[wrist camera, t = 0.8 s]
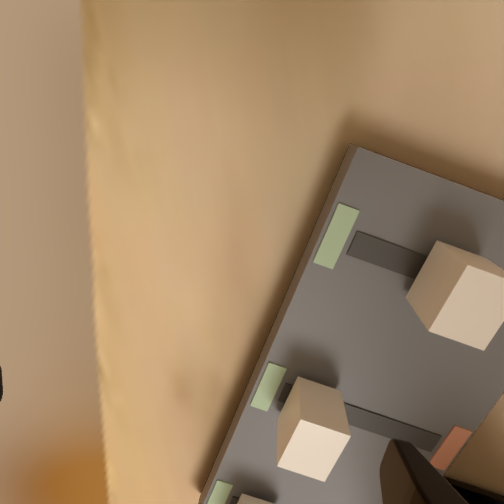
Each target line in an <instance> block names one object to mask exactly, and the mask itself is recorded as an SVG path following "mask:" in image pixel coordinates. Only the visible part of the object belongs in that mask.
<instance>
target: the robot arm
mask: <svg viewBox="0 0 504 504" xmlns="http://www.w3.org/2000/svg"><path fill="white" fill-rule="evenodd" d="M2 395H3V385H2V370H1V367H0V401H1V399H2ZM379 476H380V485H381V493H382V501H383V504H504V497H503V496H500V495H497V494H494V493H491V492H488V491H485V490H482V489H479V488H476V487H473V486H470V485H467V484H464V483H461V482H458V481H455V480H452V479H449V478H444V477H443V476H442V475H441V474H440V473H439V472H438V471H437V470H436V468H435V467H434V466H433V465H432V464H431V463H430V462H429V461H428V460H427V459H426V458H425V457H424V456H423V455H422V453H421V452H420V451H419V450H418V449H417V448H416V447H415V446H414V445H413V444H412V443H411V442H409V441H406V440H401V439H396V438H393V439H391V440H390V441H389V443H388V445H387V448H386V451H385V453H384V456H383V459H382V461H381V464H380V470H379Z"/></svg>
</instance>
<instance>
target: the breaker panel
mask: <svg viewBox="0 0 504 504" xmlns="http://www.w3.org/2000/svg"><path fill="white" fill-rule="evenodd" d="M437 240H438V241H441V242H443V243H446V244H449V245H452V246H454V247H457V248H460V249H463V250H465V251H468V252H471V253H474V254H476V255H479V256H482V257H485V258H487V259H488V260H490V261H491V262H493V263H494V264H496V265H497V266H498V267H500V268H501V269H503V270H504V200H501V199H498V198H496V197H493V196H490V195H488V194H485V193H482V192H479V191H477V190H474V189H471V188H469V187H466V186H463V185H461V184H458V183H455V182H453V181H450V180H447V179H445V178H442V177H439V176H437V175H434V174H431V173H429V172H426V171H423V170H421V169H418V168H415V167H412V166H410V165H407V164H404V163H402V162H399V161H396V160H394V159H391V158H388V157H386V156H383V155H380V154H378V153H375V152H372V151H370V150H367V149H364V148H362V147H359V146H356V145H354V144H351V143H350V145H349V147H348V150H347V152H346V154H345V157H344V159H343V161H342V164H341V166H340V168H339V171H338V173H337V175H336V178H335V180H334V182H333V185H332V187H331V190H330V192H329V194H328V197H327V199H326V201H325V204H324V206H323V208H322V211H321V213H320V215H319V218H318V220H317V222H316V225H315V227H314V230H313V232H312V234H311V237H310V239H309V241H308V244H307V246H306V248H305V251H304V253H303V255H302V258H301V260H300V262H299V265H298V267H297V270H296V272H295V274H294V277H293V279H292V281H291V284H290V286H289V288H288V291H287V293H286V295H285V298H284V300H283V302H282V305H281V307H280V310H279V312H278V314H277V317H276V319H275V321H274V324H273V326H272V328H271V331H270V333H269V335H268V338H267V340H266V342H265V345H264V347H263V350H262V352H261V354H260V357H259V359H258V361H257V364H256V366H255V368H254V371H253V373H252V375H251V378H250V380H249V382H248V385H247V387H246V390H245V392H244V394H243V397H242V399H241V401H240V404H239V406H238V408H237V411H236V413H235V415H234V418H233V420H232V422H231V425H230V427H229V430H228V432H227V434H226V437H225V439H224V441H223V444H222V446H221V448H220V451H219V453H218V455H217V458H216V460H215V462H214V465H213V467H212V470H211V472H210V474H209V477H208V479H207V481H206V484H205V486H204V488H203V491H202V493H201V495H200V499H199V503H198V504H237V503H238V501H239V498H240V496H241V494H242V493H243V494H246V495H249V496H252V497H255V498H258V499H261V500H264V501H268V502H271V503H274V504H383V501H382V493H381V485H380V476H379V470H380V464H381V461H382V459H383V456H384V453H385V451H386V448H387V445H388V443H389V441H390V440H391V439H393V438H396V439H401V440H406V441H409V442H411V443H412V444H413V445H414V446H415V447H416V448H417V449H418V450H419V451H420V452H421V453H422V455H423V456H424V457H425V458H426V459H427V460H428V461H429V462H430V463H431V464H432V465H433V466H434V467H435V468H436V470H437V471H438V472H439V473H440V474H441V475H442V476H443V475H444V474H445V473H446V471H447V470H448V468H449V467H450V466H451V464H452V463H453V462H454V460H455V459H456V457H457V456H458V455H459V453H460V452H461V450H462V449H463V448H464V446H465V445H466V444H467V442H468V441H469V439H470V438H471V437H472V435H473V434H474V432H475V431H476V430H477V428H478V427H479V426H480V424H481V423H482V421H483V420H484V419H485V417H486V416H487V415H488V413H489V412H490V410H491V409H492V408H493V406H494V405H495V403H496V402H497V401H498V399H499V398H500V397H501V395H502V394H503V392H504V322H503V323H502V325H501V326H500V328H499V329H498V331H497V332H496V334H495V335H494V337H493V338H492V339H491V341H490V342H489V344H488V345H487V347H486V348H485V350H484V351H483V350H480V349H477V348H475V347H472V346H469V345H466V344H463V343H460V342H458V341H455V340H452V339H449V338H446V337H443V336H441V335H438V334H435V333H432V332H429V331H428V330H427V328H426V327H425V326H424V324H423V323H422V321H421V320H420V318H419V317H418V315H417V314H416V312H415V311H414V309H413V308H412V306H411V305H410V303H409V302H408V301H407V299H406V298H405V297H406V295H407V294H408V292H409V290H410V288H411V286H412V285H413V283H414V281H415V279H416V277H417V275H418V274H419V272H420V270H421V268H422V266H423V265H424V263H425V261H426V259H427V257H428V255H429V254H430V252H431V250H432V248H433V246H434V245H435V243H436V241H437ZM298 376H299V377H302V378H304V379H307V380H310V381H313V382H316V383H319V384H322V385H325V386H328V387H331V388H334V389H337V390H340V391H341V393H342V397H343V402H344V406H345V411H346V416H347V420H348V425H349V429H350V434H351V437H350V439H349V440H348V442H347V444H346V446H345V447H344V449H343V451H342V453H341V454H340V456H339V458H338V459H337V461H336V463H335V465H334V466H333V468H332V470H331V472H330V473H329V475H328V477H327V479H326V480H325V482H323V481H320V480H317V479H314V478H311V477H308V476H305V475H302V474H299V473H296V472H293V471H290V470H287V469H284V468H280V467H277V419H278V417H279V415H280V413H281V411H282V408H283V406H284V404H285V402H286V400H287V398H288V396H289V394H290V392H291V390H292V388H293V385H294V383H295V381H296V379H297V377H298Z"/></svg>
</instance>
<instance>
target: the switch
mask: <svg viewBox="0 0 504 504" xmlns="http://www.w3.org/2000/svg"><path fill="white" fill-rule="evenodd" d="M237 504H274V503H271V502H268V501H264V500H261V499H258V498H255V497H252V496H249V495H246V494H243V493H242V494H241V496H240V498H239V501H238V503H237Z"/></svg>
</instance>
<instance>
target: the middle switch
mask: <svg viewBox="0 0 504 504" xmlns="http://www.w3.org/2000/svg"><path fill="white" fill-rule="evenodd" d="M350 437H351V434H350V429H349V425H348V420H347V416H346V411H345V406H344V402H343V397H342V393H341V391H340V390H337V389H334V388H331V387H328V386H325V385H322V384H319V383H316V382H313V381H310V380H307V379H304V378H302V377H299V376H298V377H297V379H296V381H295V383H294V385H293V388H292V390H291V392H290V394H289V396H288V398H287V400H286V402H285V404H284V406H283V408H282V411H281V413H280V415H279V417H278V419H277V467H280V468H284V469H287V470H290V471H293V472H296V473H299V474H302V475H305V476H308V477H311V478H314V479H317V480H320V481H323V482H325V480H326V479H327V477H328V475H329V473H330V472H331V470H332V468H333V466H334V465H335V463H336V461H337V459H338V458H339V456H340V454H341V453H342V451H343V449H344V447H345V446H346V444H347V442H348V440H349V439H350Z"/></svg>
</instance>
